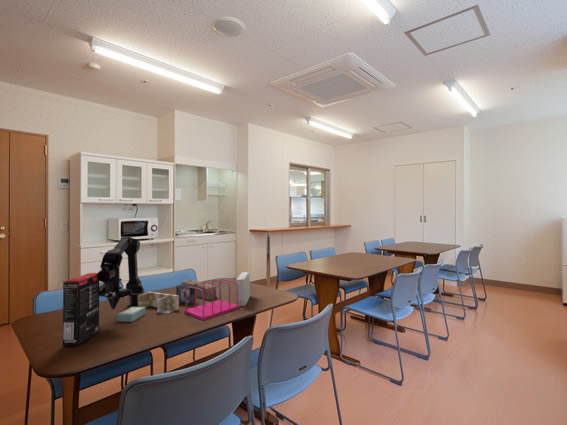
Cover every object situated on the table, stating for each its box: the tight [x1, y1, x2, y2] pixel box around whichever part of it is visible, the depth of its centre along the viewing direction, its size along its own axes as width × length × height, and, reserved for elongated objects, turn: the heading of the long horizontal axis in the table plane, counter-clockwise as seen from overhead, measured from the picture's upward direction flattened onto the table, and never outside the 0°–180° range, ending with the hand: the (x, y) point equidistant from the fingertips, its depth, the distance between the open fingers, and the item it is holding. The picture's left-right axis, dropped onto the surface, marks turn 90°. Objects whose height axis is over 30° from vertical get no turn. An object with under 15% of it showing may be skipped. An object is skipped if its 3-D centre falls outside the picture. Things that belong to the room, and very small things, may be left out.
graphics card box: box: [62, 272, 100, 347], centre depth 133 cm, size 17×7×27 cm, turn 5°
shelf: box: [138, 291, 180, 311], centre depth 172 cm, size 22×8×8 cm, turn 68°
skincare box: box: [235, 271, 251, 307], centre depth 188 cm, size 21×6×16 cm, turn 178°
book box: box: [117, 307, 147, 323], centre depth 160 cm, size 8×12×4 cm, turn 174°
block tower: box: [181, 279, 217, 301], centre depth 202 cm, size 8×8×29 cm
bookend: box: [156, 296, 177, 315], centre depth 169 cm, size 7×7×7 cm
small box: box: [175, 283, 195, 306], centre depth 185 cm, size 11×6×10 cm, turn 68°
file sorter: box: [183, 278, 240, 321], centre depth 170 cm, size 17×25×16 cm
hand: (113, 309), depth 150 cm, fingers closed
